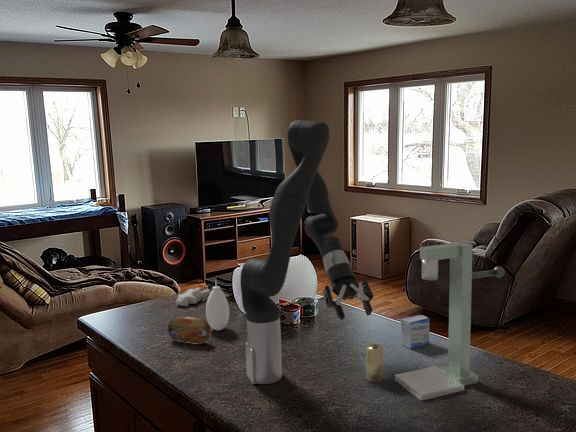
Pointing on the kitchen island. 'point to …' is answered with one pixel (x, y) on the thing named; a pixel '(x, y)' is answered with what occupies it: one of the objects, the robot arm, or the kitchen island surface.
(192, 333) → the tin
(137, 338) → the kitchen island surface
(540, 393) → the kitchen island surface
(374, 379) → the housing
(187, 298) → the bunny figurine
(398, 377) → the press bed
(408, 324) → the medicine box
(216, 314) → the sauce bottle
